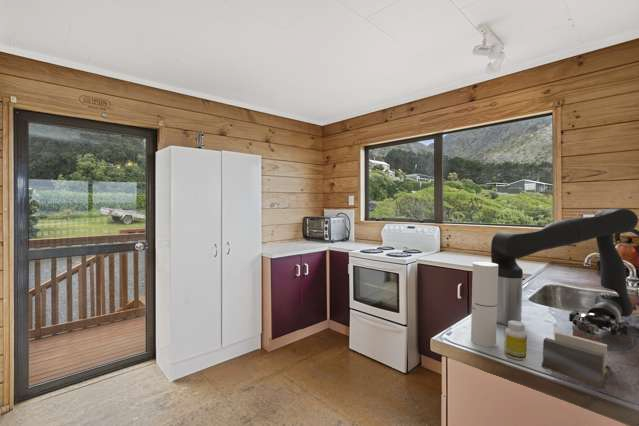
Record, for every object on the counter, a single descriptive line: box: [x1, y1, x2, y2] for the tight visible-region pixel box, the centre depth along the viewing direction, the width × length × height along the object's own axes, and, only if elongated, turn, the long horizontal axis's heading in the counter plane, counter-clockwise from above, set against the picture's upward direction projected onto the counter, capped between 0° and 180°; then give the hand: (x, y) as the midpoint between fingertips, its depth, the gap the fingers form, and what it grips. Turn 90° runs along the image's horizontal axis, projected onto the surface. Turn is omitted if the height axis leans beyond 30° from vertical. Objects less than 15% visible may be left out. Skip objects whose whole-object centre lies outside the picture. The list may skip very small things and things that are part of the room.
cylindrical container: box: [470, 261, 498, 348], centre depth 101 cm, size 7×7×25 cm
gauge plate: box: [554, 330, 610, 369], centre depth 88 cm, size 2×12×6 cm, turn 40°
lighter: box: [571, 319, 603, 343], centre depth 92 cm, size 8×3×10 cm, turn 5°
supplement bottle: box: [504, 320, 528, 361], centre depth 93 cm, size 5×5×10 cm
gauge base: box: [541, 337, 612, 388], centre depth 86 cm, size 12×12×8 cm
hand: (593, 327), depth 98 cm, fingers open, 8 cm apart
